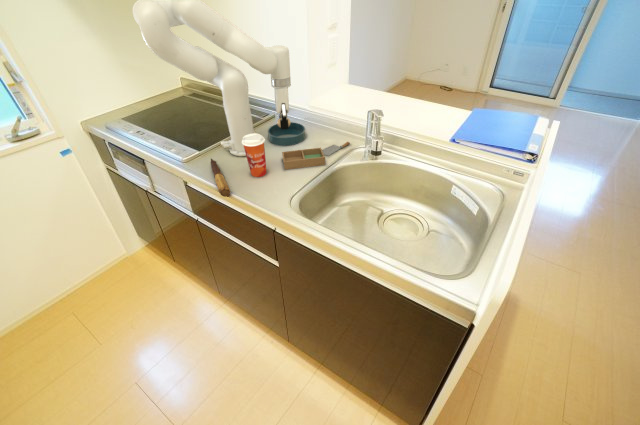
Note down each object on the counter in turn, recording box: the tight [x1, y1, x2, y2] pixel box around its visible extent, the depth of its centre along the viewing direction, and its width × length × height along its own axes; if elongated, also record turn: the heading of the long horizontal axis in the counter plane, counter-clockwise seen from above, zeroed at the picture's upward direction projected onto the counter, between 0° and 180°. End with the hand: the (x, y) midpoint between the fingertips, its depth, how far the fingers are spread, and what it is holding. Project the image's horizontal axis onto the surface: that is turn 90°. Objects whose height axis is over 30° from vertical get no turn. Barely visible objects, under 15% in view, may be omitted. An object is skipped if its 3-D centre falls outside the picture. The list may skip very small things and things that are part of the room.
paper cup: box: [242, 132, 267, 178], centre depth 110 cm, size 8×8×14 cm
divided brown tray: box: [281, 147, 326, 171], centre depth 119 cm, size 15×8×3 cm, turn 100°
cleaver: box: [322, 141, 350, 157], centre depth 128 cm, size 13×1×5 cm
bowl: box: [267, 121, 307, 147], centre depth 136 cm, size 16×16×4 cm
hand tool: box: [210, 158, 231, 198], centre depth 111 cm, size 4×26×3 cm, turn 25°
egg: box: [276, 117, 292, 128], centre depth 132 cm, size 6×4×4 cm
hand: (284, 126), depth 133 cm, fingers closed on egg, 4 cm apart
